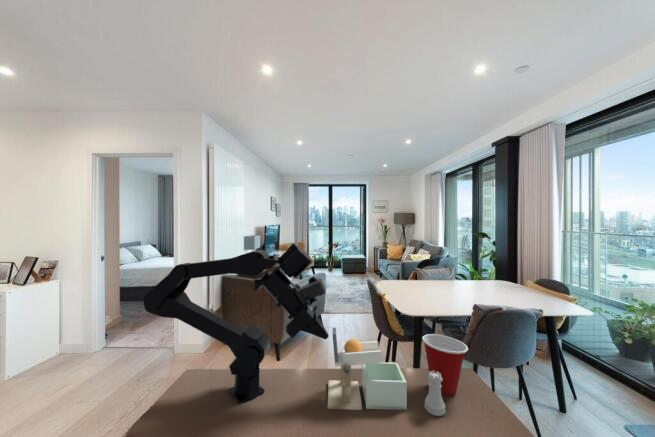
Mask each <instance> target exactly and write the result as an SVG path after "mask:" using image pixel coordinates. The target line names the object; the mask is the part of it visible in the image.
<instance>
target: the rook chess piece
mask: <svg viewBox="0 0 655 437" xmlns="http://www.w3.org/2000/svg"><path fill="white" fill-rule="evenodd" d="M427 379H428V384H427V385H428V394H427V395H426V398H425V399H424V408H425V410H426V412H427V413H428V414H430V415H431V416H435V417H442V416H444V415H445V413H446V404H445V402H444V399H443V398H442V396H443V395H442V394H441V387H442V386H441V382H442V381H443V379H442V377H441V374H440V373H439V372H436V373H435V371H432V373H431V371H429V370H428V374H427Z"/></svg>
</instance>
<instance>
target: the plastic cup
mask: <svg viewBox="0 0 655 437" xmlns="http://www.w3.org/2000/svg"><path fill="white" fill-rule="evenodd" d="M421 338H422V342H423V344H424V349H425V350H424V351H425V354H426V355H425V356H426V361H427V367H428V368H427V370H428V372H429V371H431V373H432V371H435V373H436V372H439V373H440V374H441V377H442V379H443V381H442V382H441V386H442V387H441V395H442V396H443V395H444V396H453V395H455V394H457V391H458V387H459V386H458V385H459V380H460V378H461V372H462V366H463V360H464V358H465V356H466V353H467V352H468V351H469V348H468V345H466V344H465V343H464V342H462V341H460V340H458V339H456V338H454V337H450V336H448V335H442V334H439V333H438V334H437V333H430V334H429V333H427V334H425V335H423V336H422V337H421Z"/></svg>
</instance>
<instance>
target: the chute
mask: <svg viewBox="0 0 655 437" xmlns="http://www.w3.org/2000/svg"><path fill="white" fill-rule="evenodd" d="M331 335H332V343H333V346H332V347H333V355H334V356H333V357H334V358H333V359H334V367H341V366H342V365H350V366H357V365H359V366H362V364H374V363H383V362H384V361H383V360H384V359H383V351H382V350H380V348H379V341H378V340H371V341H358V342H359V343H360V345H361V352H352V353H346V352H345V344H346V342H344V341H341V351H342V352H341V351H339V350H338V349H339V348H338V338H337V327H332V334H331Z"/></svg>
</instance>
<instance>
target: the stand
mask: <svg viewBox="0 0 655 437" xmlns="http://www.w3.org/2000/svg"><path fill="white" fill-rule="evenodd" d="M340 352H342V350H340ZM351 376H352V365H342V366H340V380H335V379H334V380H331V379H328V384H327V385H328V388H327V391H328V392H327V409H328V410H329V409H330V410H353V411H357V410H358V411H362V410H363V404H362V400H361V393H360V385H359V381H358V380H356V381H355V380H352V378H351Z"/></svg>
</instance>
